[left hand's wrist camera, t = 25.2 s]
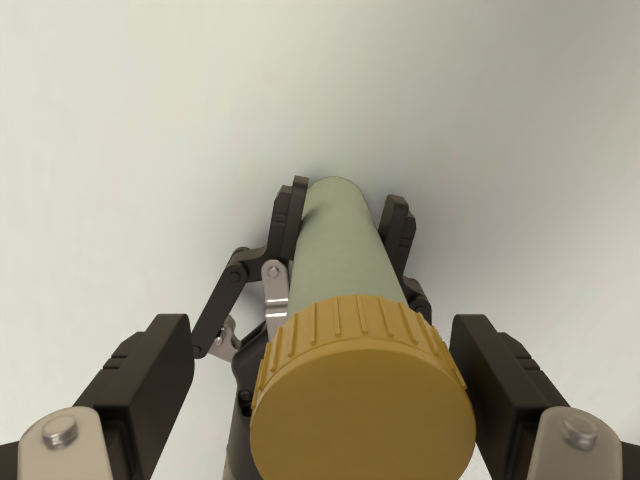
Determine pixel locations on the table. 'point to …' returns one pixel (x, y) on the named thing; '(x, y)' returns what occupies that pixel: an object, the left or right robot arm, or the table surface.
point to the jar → (339, 249)
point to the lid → (360, 397)
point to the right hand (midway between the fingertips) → (349, 191)
